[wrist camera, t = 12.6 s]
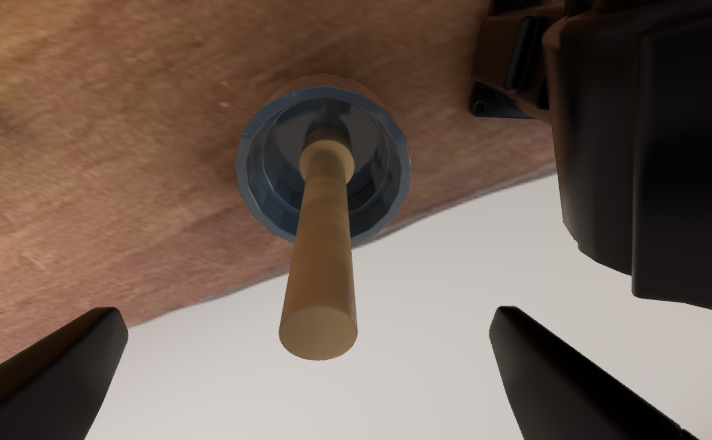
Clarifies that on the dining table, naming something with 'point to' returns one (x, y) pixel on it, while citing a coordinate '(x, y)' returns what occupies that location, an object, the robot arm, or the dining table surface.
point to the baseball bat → (322, 254)
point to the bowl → (284, 145)
